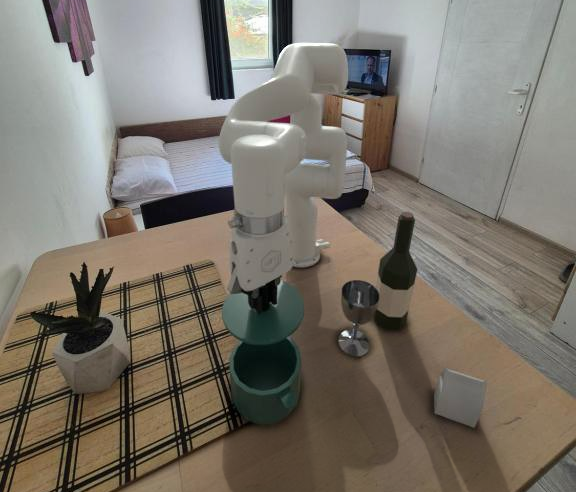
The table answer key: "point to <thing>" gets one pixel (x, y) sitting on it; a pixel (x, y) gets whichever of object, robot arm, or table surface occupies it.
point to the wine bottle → (396, 277)
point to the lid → (264, 315)
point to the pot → (265, 380)
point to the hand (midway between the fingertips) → (263, 303)
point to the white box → (459, 397)
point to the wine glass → (357, 315)
